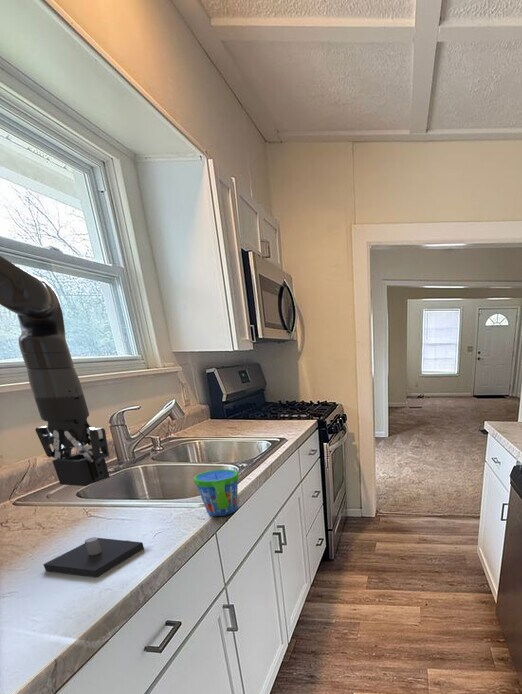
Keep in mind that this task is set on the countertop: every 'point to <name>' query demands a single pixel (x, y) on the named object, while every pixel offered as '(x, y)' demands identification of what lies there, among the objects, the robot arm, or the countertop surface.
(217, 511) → the snack cup
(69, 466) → the socket block
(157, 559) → the countertop surface
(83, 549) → the base pad
